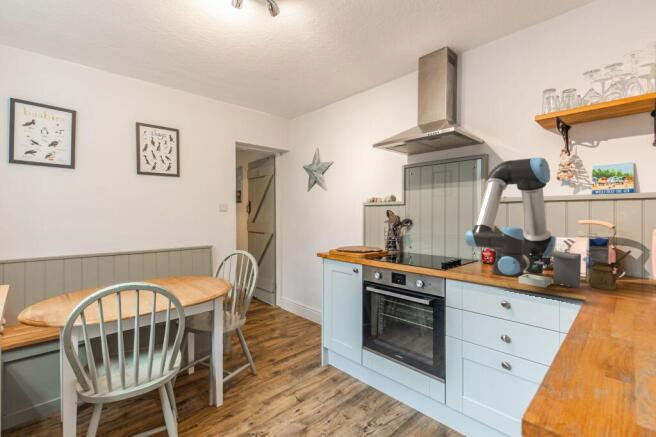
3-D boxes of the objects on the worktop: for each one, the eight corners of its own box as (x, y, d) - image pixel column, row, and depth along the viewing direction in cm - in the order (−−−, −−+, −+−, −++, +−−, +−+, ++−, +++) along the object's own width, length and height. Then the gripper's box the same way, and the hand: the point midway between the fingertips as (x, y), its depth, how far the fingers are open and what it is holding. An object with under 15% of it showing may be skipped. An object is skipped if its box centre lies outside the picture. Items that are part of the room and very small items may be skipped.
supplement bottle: (537, 274, 139) (538, 248, 138) (522, 271, 145) (523, 246, 144) (545, 272, 142) (546, 247, 142) (530, 270, 148) (531, 246, 148)
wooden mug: (630, 293, 128) (631, 251, 128) (588, 287, 138) (589, 248, 138) (629, 289, 135) (631, 249, 134) (590, 284, 144) (591, 246, 144)
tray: (518, 283, 145) (518, 276, 145) (526, 280, 152) (526, 273, 152) (544, 287, 137) (544, 280, 137) (551, 284, 144) (551, 277, 144)
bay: (546, 287, 138) (547, 253, 138) (553, 283, 145) (554, 251, 145) (573, 291, 130) (574, 256, 130) (580, 287, 137) (581, 253, 137)
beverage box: (588, 283, 145) (589, 238, 144) (585, 279, 154) (586, 236, 153) (607, 286, 141) (609, 239, 140) (603, 281, 150) (604, 237, 149)
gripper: (496, 267, 140) (515, 262, 154) (547, 274, 124) (562, 268, 139) (496, 251, 139) (515, 247, 154) (547, 256, 124) (563, 252, 139)
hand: (538, 257), depth 146 cm, fingers closed on supplement bottle, 7 cm apart
